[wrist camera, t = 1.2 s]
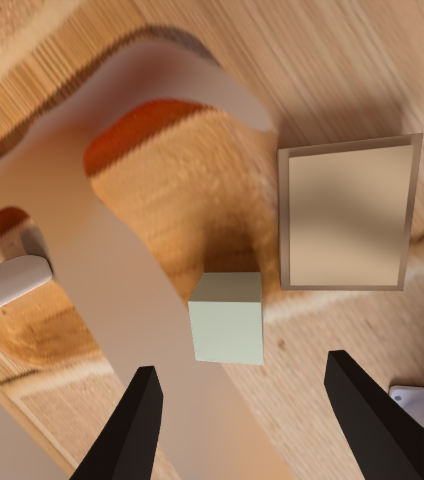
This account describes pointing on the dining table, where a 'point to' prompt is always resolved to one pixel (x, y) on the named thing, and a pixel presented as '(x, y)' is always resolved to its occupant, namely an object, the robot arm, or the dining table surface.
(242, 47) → the dining table surface
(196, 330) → the sage block
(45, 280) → the eye dropper bottle
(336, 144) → the plinth
